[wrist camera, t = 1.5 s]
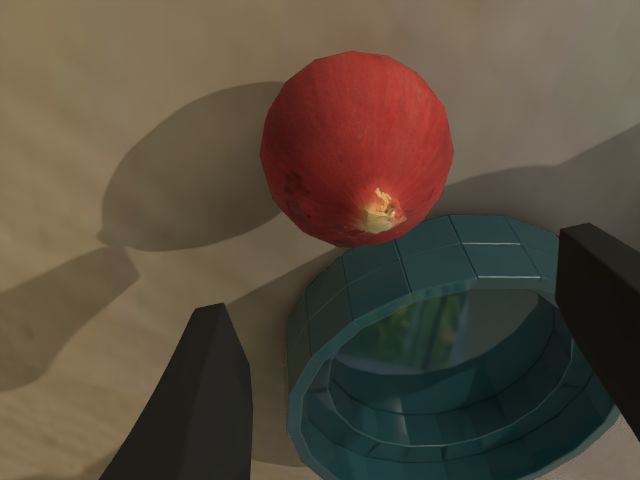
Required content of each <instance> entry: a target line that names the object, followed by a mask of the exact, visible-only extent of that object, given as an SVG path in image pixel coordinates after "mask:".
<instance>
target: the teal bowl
mask: <svg viewBox="0 0 640 480" xmlns="http://www.w3.org/2000/svg"><path fill="white" fill-rule="evenodd" d="M558 249H559V237H558V236H556V235H555V234H554V233H553V232H551V231H549V230H546V229H543V228H540V227H537V226H534V225H531V224H528V223H525V222H522V221H519V220H516V219H513V218H510V217H506V216H495V215H448V216H442V217H438V218H434V219H429V220H425V221H422V222H421V223H419V224H418V225H416V226H415V227H414V228H412V229H411V230H410V231H408V232H407V233H406V234H404V235H403V236H401V237H399V238H396V239H393V240H390V241H387V242H384V243H381V244H378V245H366V246H357V247H355V248H354V249H352V250H350V251H348V252H346V253H344V254H342V256H340V257H339V258H338V259H337V260H336V261H335V262H333V263H332V264H331V265H330V266H329V267H328V268H327V269H326V270H325V271H324V272H323V273H322V274H321V275H320V276H319V277H318V278H317V279H316V280H315V281H314V282H313V283H311V284H310V285H309V286H308V287H307V288H306V290H305V291H304V293H303V295H302V296H301V298H300V300H299V302H298V304H297V306H296V308H295V310H294V312H293V314H292V316H291V318H290V320H289V322H288V324H287V326H286V329H285V347H284V382H285V407H286V430H287V433H288V435H289V437H290V439H291V441H292V443H293V445H294V448H295V450H296V452H297V454H298V456H299V458H300V460H301V461H302V462H303V463H304V464H305V465H306V466H307V467H309V468H310V469H311V470H312V471H314V472H315V473H316V474H317V475H318V476H320V477H321V478H322V479H323V480H533V479H536V478H539V477H541V476H543V475H545V474H547V473H549V472H550V471H552V470H554V469H555V468H557V467H559V466H560V465H562V464H564V463H566V462H567V461H569V460H571V459H572V458H574V457H576V456H578V455H579V454H581V453H582V452H584V451H585V450H586V449H587V448H588V447H590V446H591V445H592V444H593V443H594V442H595V441H596V440H597V439H598V438H599V437H601V436H602V435H603V434H604V433H605V432H606V431H607V430H608V429H609V428H610V427H612V426H613V425H614V423H615V422H616V420H617V419H618V417H619V416H620V414H621V412H620V411H619V409H618V408H617V406H616V405H615V403H614V401H613V400H612V398H611V397H610V395H609V394H608V392H607V391H606V389H605V388H604V386H603V385H602V383H601V382H600V380H599V379H598V377H597V376H596V374H595V372H594V371H593V369H592V368H591V366H590V365H589V363H588V362H587V360H586V359H585V357H584V355H583V354H582V352H581V351H580V349H579V348H578V346H577V344H576V343H575V341H574V339H573V337H572V335H571V333H570V331H569V329H568V327H567V325H566V323H565V321H564V319H563V317H562V314H561V312H560V310H559V308H558V306H557V304H556V301H555V289H556V276H557V262H558Z"/></svg>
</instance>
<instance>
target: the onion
mask: <svg viewBox="0 0 640 480" xmlns="http://www.w3.org/2000/svg"><path fill="white" fill-rule="evenodd" d="M453 152H454V150H453V145H452V140H451V135H450V130H449V125H448V120H447V115H446V111H445V107H444V106H443V105H442V103H441V102H440V100H439V99H438V98H437V96H436V95H435V94H434V92H433V91H432V90H431V88H430V87H429V86H428V84H427V83H426V82H425V80H424V79H423V78H422V77H421V76H420V75H419V74H418V73H417V72H415V71H413V70H411V69H410V68H408V67H406V66H404V65H403V64H401V63H399V62H397V61H396V60H394V59H392V58H390V57H389V56H384V55H377V54H370V53H363V52H356V51H349V52H345V53H341V54H336V55H332V56H328V57H324V58H320V59H316V60H314V61H312V62H311V63H310V64H309V65H307V66H306V67H305V68H303V69H302V70H301V71H299V72H298V73H297V74H296V75H294V76H293V77H292V78H290V79H289V80H288V81H286V82H285V84H284V86H283V87H282V89H281V91H280V92H279V94H278V96H277V97H276V99H275V101H274V102H273V104H272V106H271V107H270V109H269V111H268V114H267V117H266V120H265V124H264V130H263V137H262V143H261V149H260V158H261V162H262V166H263V170H264V173H265V176H266V180H267V183H268V186H269V189H270V193H271V196H272V199H273V200H274V201H275V203H276V204H277V205H278V207H279V208H280V209H281V210H282V211H283V212H284V213H285V214H286V215H287V216H288V217H289V218H290V219H291V220H292V221H293V222H294V223H295V224H296V225H297V226H298V227H299V228H300V229H301V230H302V231H303V232H305V233H306V234H308V235H310V236H312V237H315V238H317V239H320V240H323V241H325V242H328V243H330V244H333V245H335V246H338V247H355V246H366V245H378V244H381V243H384V242H387V241H390V240H393V239H396V238H399V237H401V236H403V235H404V234H406V233H407V232H408V231H410V230H411V229H412V228H414V227H415V226H416V225H418V224H419V223H421V222H422V221H423V220H424V219H425V217H426V216H427V214H428V213H429V212H430V210H431V209H432V207H433V206H434V205H435V203H436V202H437V200H438V199H439V198H440V196H441V193H442V191H443V188H444V185H445V182H446V179H447V176H448V173H449V170H450V167H451V164H452V159H453Z"/></svg>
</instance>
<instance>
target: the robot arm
mask: <svg viewBox="0 0 640 480" xmlns="http://www.w3.org/2000/svg"><path fill="white" fill-rule="evenodd" d="M555 301H556V304H557V306H558V308H559V310H560V312H561V314H562V317H563V319H564V321H565V323H566V325H567V327H568V329H569V331H570V333H571V335H572V337H573V339H574V341H575V343H576V344H577V346H578V348H579V349H580V351H581V352H582V354H583V355H584V357H585V359H586V360H587V362H588V363H589V365H590V366H591V368H592V369H593V371H594V372H595V374H596V376H597V377H598V379H599V380H600V382H601V383H602V385H603V386H604V388H605V389H606V391H607V392H608V394H609V395H610V397H611V398H612V400H613V401H614V403H615V405H616V406H617V408H618V409H619V411H620V412H621V414H622V415H623V417H624V418H625V420H626V421H627V423H628V424H629V426H630V427H631V429H632V430H633V432H634V434H635V436H636V437H637V439H638V441H639V442H640V253H639V252H638V251H636V250H634V249H633V248H631V247H629V246H628V245H626V244H624V243H623V242H621V241H619V240H618V239H616V238H615V237H613V236H611V235H610V234H608V233H606V232H605V231H603V230H601V229H599V228H598V227H596V226H594V225H592V224H591V223H585V224H581V225H576V226H572V227H567V228H563V229H560V235H559V249H558V262H557V276H556V289H555ZM252 422H253V402H252V388H251V377H250V365H249V362H248V360H247V358H246V355H245V353H244V350H243V348H242V346H241V343H240V341H239V339H238V336H237V334H236V331H235V329H234V327H233V324H232V322H231V319H230V317H229V315H228V312H227V310H226V307H225V305H224V303H219V304H214V305H209V306H205V307H200V308H196V309H195V310H194V312H193V313H192V315H191V317H190V320H189V322H188V324H187V326H186V328H185V330H184V333H183V335H182V337H181V339H180V341H179V343H178V345H177V347H176V349H175V351H174V354H173V356H172V358H171V360H170V362H169V364H168V366H167V368H166V369H165V371H164V373H163V375H162V377H161V379H160V381H159V383H158V385H157V387H156V389H155V390H154V392H153V394H152V396H151V398H150V400H149V401H148V403H147V405H146V406H145V408H144V410H143V411H142V413H141V415H140V417H139V418H138V420H137V422H136V423H135V425H134V427H133V428H132V430H131V432H130V433H129V435H128V437H127V438H126V440H125V441H124V443H123V444H122V446H121V447H120V449H119V451H118V452H117V454H116V455H115V457H114V458H113V459H112V461H111V462H110V464H109V465H108V467H107V468H106V470H105V471H104V472H103V474H102V475H101V477H100V478H99V479H98V480H250V470H251V447H252Z"/></svg>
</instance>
